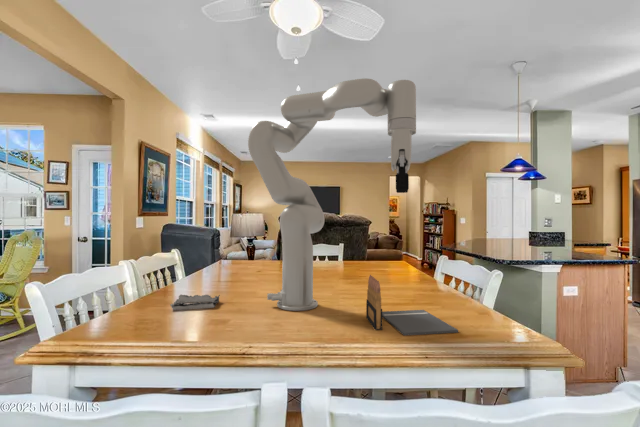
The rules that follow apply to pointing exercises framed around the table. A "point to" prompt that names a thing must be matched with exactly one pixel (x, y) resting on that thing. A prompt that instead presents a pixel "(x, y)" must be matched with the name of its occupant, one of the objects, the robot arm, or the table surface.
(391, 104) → the robot arm
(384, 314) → the mat
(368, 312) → the ammunition clip
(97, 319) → the table surface
